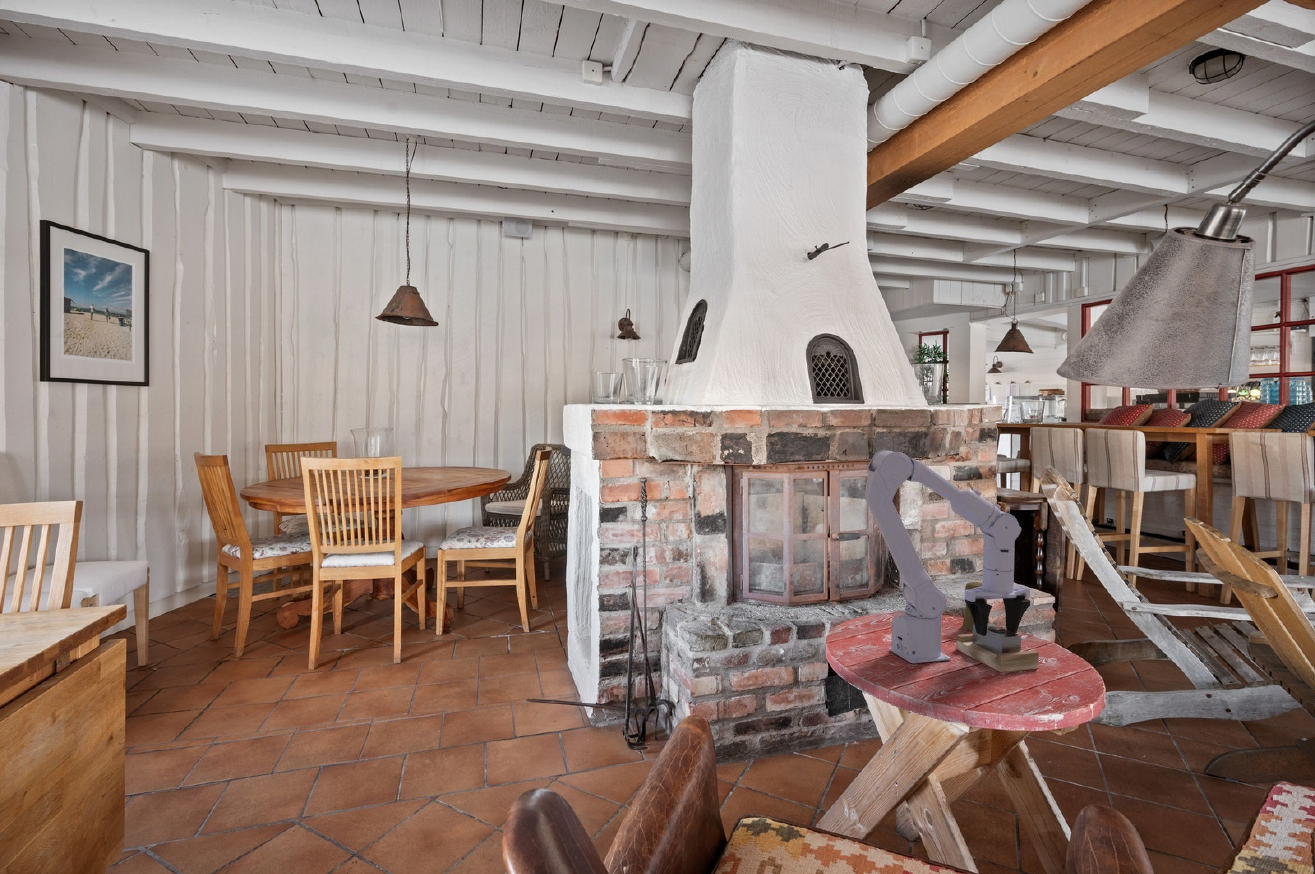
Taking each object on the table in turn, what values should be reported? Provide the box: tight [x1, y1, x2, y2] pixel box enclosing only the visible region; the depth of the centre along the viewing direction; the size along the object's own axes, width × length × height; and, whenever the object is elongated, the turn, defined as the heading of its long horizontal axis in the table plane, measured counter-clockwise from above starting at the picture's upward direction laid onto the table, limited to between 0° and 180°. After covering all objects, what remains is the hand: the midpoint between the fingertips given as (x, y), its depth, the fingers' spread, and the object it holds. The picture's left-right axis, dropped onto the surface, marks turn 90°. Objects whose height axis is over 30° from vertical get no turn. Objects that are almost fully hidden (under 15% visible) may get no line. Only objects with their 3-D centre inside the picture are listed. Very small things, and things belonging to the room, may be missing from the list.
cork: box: [961, 581, 990, 632], centre depth 148 cm, size 6×6×11 cm
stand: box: [956, 633, 1040, 673], centre depth 130 cm, size 12×9×3 cm
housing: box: [972, 622, 1022, 655], centre depth 130 cm, size 8×5×4 cm, turn 14°
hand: (996, 632), depth 130 cm, fingers open, 7 cm apart
